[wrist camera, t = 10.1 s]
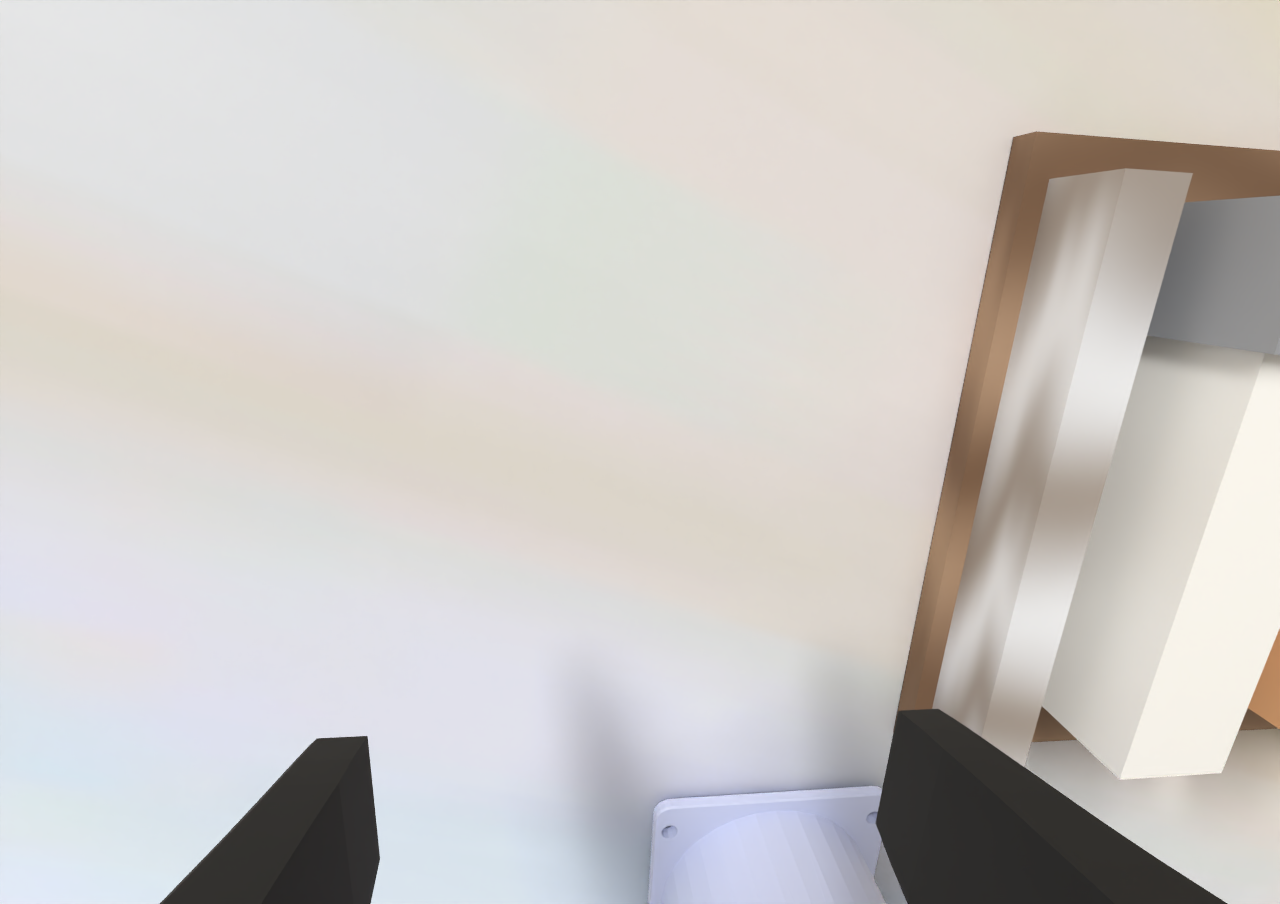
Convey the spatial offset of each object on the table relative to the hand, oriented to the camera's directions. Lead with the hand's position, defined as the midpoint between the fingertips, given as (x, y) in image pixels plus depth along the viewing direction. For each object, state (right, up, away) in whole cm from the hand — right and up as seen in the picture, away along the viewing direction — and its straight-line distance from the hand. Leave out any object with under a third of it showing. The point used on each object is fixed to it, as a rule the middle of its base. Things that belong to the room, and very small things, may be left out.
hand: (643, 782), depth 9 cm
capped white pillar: (+14, +4, +10) cm, 17 cm away
